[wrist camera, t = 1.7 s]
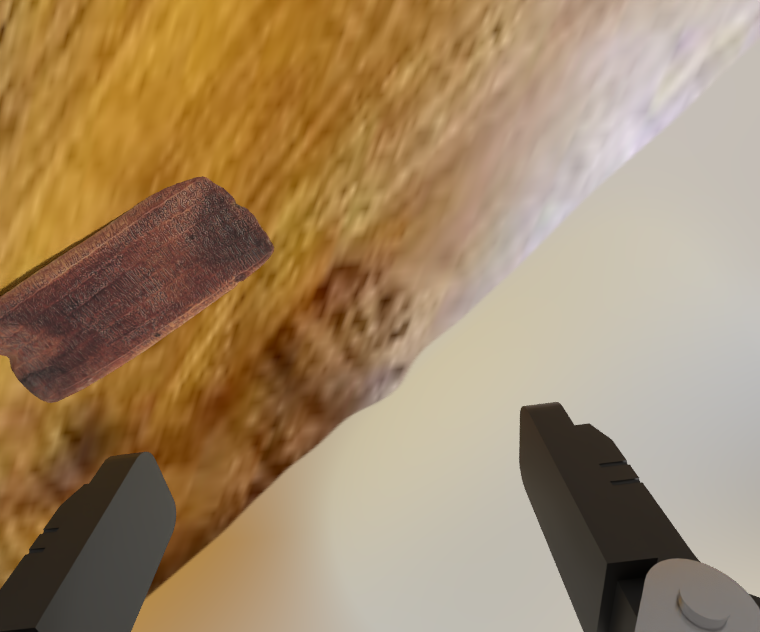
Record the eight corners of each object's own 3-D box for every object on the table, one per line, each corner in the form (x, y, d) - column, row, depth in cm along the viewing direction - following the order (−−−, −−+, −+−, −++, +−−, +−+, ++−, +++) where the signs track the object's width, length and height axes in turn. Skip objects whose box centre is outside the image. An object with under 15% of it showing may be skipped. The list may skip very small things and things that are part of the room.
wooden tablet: (205, 155, 32) (286, 272, 36) (215, 153, 34) (291, 264, 38) (-55, 330, 37) (38, 419, 40) (-33, 319, 39) (54, 405, 43)
